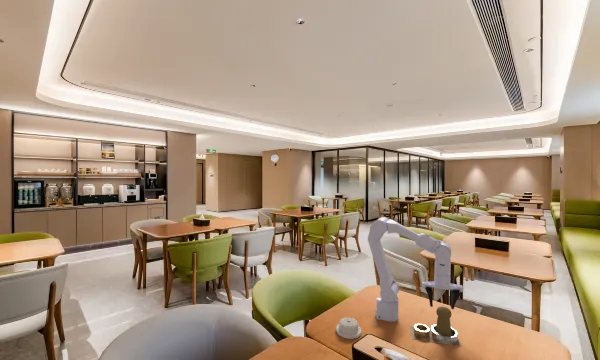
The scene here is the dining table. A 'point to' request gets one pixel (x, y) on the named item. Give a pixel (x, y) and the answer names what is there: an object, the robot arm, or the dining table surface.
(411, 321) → the dining table surface
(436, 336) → the wide steel ring
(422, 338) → the smooth grayish brown board
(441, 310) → the olive bulbous peg
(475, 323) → the dining table surface
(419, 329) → the narrow bronze ring
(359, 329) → the mechanical component
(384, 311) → the robot arm
